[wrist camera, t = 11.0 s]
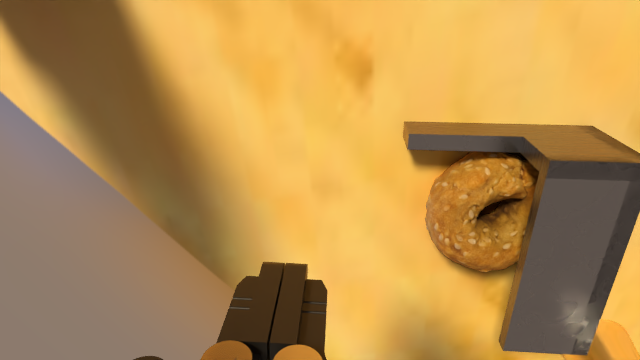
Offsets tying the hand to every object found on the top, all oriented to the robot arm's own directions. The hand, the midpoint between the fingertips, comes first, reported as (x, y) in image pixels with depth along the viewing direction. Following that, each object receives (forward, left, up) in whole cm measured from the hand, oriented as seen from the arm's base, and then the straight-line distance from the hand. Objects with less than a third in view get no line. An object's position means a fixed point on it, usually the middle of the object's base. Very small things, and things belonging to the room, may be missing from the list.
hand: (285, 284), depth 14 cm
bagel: (+14, -7, -21) cm, 26 cm away
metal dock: (+14, -8, -21) cm, 27 cm away
